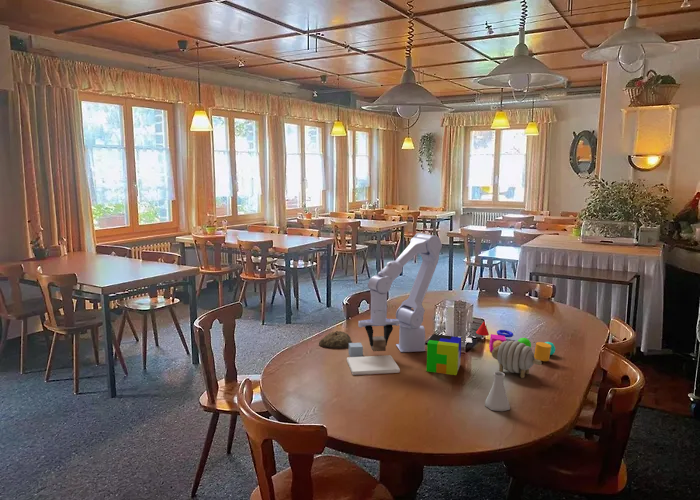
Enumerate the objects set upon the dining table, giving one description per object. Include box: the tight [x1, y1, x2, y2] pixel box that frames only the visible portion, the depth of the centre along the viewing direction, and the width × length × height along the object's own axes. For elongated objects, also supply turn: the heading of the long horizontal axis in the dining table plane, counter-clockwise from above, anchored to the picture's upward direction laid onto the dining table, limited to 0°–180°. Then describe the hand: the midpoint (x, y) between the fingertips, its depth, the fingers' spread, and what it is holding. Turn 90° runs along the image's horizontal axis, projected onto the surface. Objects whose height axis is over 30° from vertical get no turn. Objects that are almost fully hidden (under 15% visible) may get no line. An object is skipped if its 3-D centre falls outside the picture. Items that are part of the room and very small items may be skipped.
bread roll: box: [318, 330, 353, 349], centre depth 205 cm, size 13×12×5 cm
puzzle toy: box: [425, 333, 462, 376], centre depth 181 cm, size 10×10×10 cm
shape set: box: [465, 321, 556, 362], centre depth 199 cm, size 29×35×7 cm
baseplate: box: [346, 354, 401, 376], centre depth 182 cm, size 16×13×1 cm
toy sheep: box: [491, 340, 543, 379], centre depth 176 cm, size 11×17×11 cm, turn 55°
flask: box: [484, 371, 511, 412], centre depth 152 cm, size 7×7×10 cm
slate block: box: [348, 342, 364, 357], centre depth 192 cm, size 4×4×4 cm
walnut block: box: [370, 335, 387, 352], centre depth 192 cm, size 4×4×4 cm
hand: (378, 345), depth 192 cm, fingers closed on walnut block, 4 cm apart
